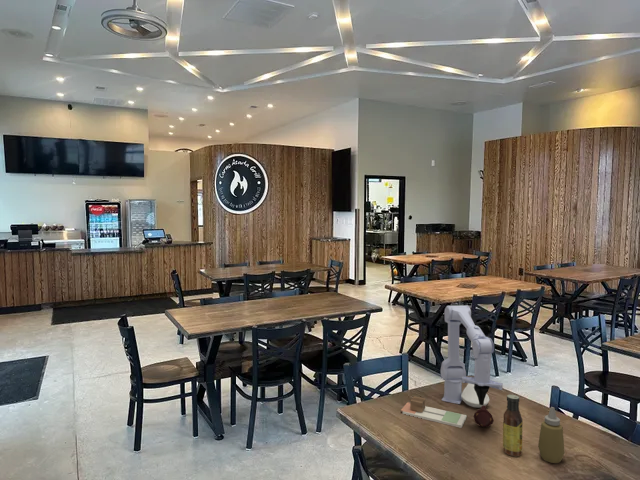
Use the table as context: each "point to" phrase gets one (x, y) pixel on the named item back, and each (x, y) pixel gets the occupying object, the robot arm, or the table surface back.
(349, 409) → the table surface
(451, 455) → the table surface
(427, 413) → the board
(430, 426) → the table surface
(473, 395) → the spoon rest
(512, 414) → the sauce bottle
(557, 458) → the squeeze bottle
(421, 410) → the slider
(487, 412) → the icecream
